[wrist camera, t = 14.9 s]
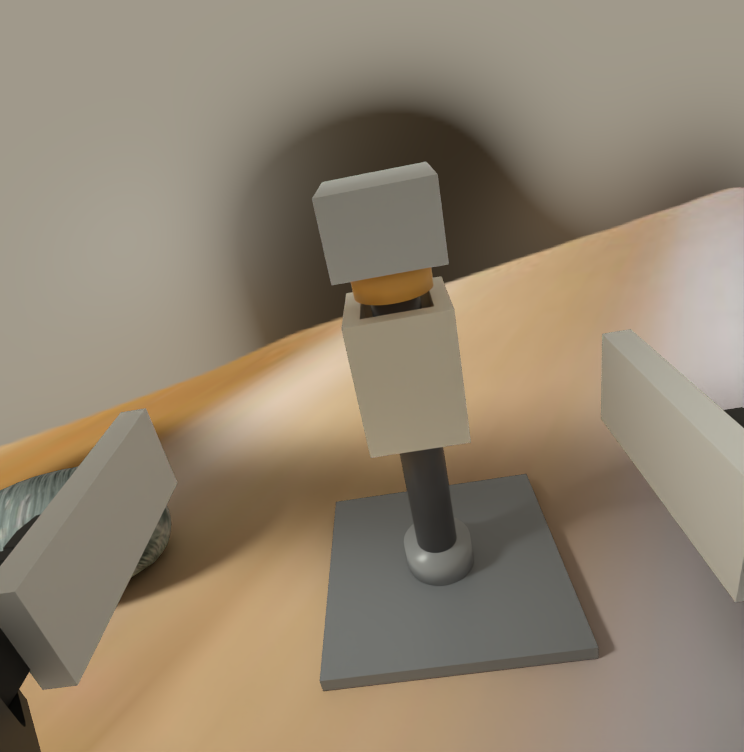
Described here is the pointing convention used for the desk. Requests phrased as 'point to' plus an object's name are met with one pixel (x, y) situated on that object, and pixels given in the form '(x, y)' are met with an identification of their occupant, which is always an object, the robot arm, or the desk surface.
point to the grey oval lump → (31, 497)
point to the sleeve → (407, 374)
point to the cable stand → (431, 496)
